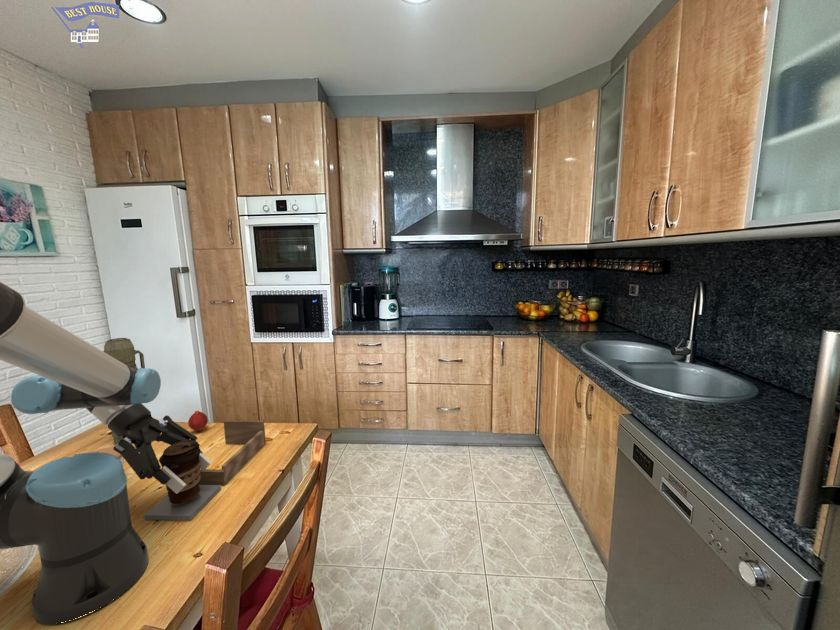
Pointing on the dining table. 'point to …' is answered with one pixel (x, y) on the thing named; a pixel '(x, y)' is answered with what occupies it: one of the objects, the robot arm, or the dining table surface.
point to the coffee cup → (183, 469)
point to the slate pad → (182, 506)
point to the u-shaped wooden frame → (237, 434)
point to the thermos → (123, 358)
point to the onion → (198, 421)
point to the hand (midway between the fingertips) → (195, 477)
